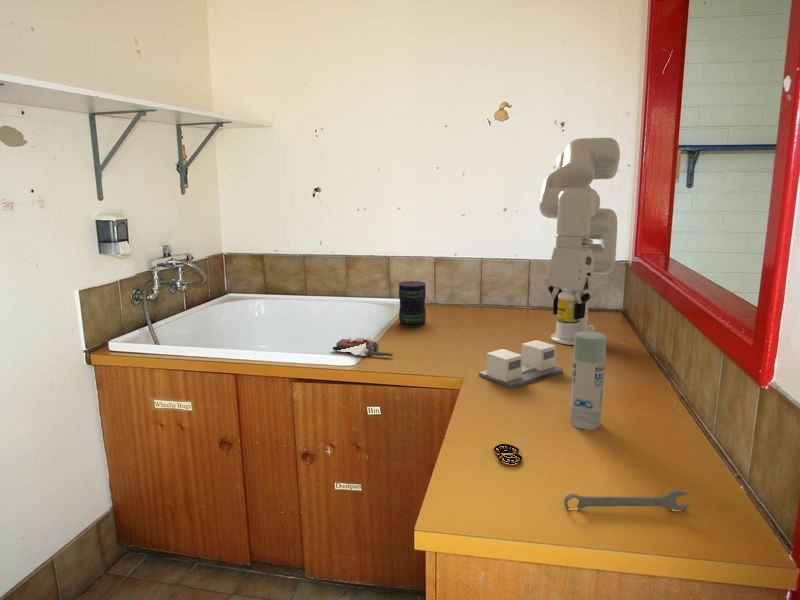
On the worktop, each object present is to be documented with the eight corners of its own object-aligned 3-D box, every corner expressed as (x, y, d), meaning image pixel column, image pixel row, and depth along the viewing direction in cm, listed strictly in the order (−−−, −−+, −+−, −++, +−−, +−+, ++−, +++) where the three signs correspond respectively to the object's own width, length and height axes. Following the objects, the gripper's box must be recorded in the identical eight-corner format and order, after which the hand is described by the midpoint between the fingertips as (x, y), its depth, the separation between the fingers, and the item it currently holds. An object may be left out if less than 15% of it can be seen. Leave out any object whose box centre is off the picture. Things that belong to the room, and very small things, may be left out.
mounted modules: (535, 360, 163) (536, 340, 161) (555, 366, 157) (556, 345, 156) (486, 374, 152) (486, 353, 150) (506, 382, 146) (507, 359, 145)
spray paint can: (596, 432, 119) (602, 341, 115) (565, 426, 122) (570, 336, 118) (603, 421, 124) (610, 333, 120) (574, 415, 128) (578, 329, 124)
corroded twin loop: (498, 468, 106) (499, 463, 106) (491, 448, 114) (491, 443, 113) (525, 467, 106) (525, 462, 106) (516, 447, 114) (516, 442, 114)
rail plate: (529, 361, 165) (529, 356, 165) (562, 372, 156) (563, 366, 155) (479, 375, 154) (479, 370, 153) (512, 388, 144) (512, 383, 144)
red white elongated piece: (329, 355, 174) (391, 360, 168) (329, 341, 173) (391, 346, 167) (340, 346, 182) (400, 351, 177) (340, 333, 181) (400, 338, 176)
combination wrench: (565, 494, 91) (693, 493, 90) (563, 489, 92) (690, 489, 91) (564, 515, 92) (692, 515, 91) (562, 510, 93) (688, 510, 92)
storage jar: (426, 326, 204) (426, 286, 200) (398, 327, 204) (398, 286, 201) (425, 320, 213) (425, 280, 210) (399, 320, 214) (398, 281, 210)
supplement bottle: (553, 321, 142) (555, 282, 140) (574, 320, 143) (576, 281, 140) (561, 326, 137) (563, 286, 135) (583, 325, 137) (585, 286, 135)
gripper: (613, 244, 131) (608, 320, 135) (553, 238, 144) (550, 307, 148) (593, 247, 126) (589, 326, 130) (533, 240, 140) (531, 312, 144)
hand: (568, 315), depth 139 cm, fingers closed on supplement bottle, 5 cm apart
